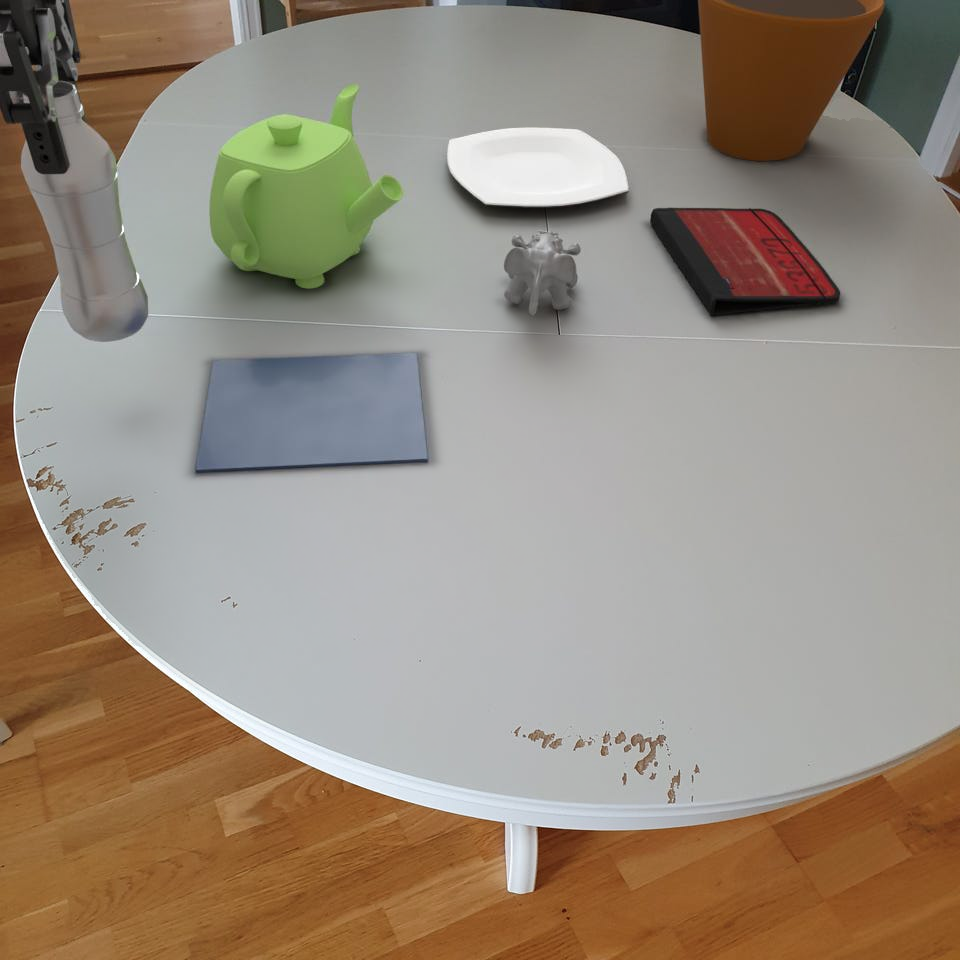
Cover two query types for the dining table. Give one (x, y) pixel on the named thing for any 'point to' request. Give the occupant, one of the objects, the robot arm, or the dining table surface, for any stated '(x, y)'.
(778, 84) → the flower pot
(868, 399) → the dining table surface
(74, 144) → the silver metal bottle
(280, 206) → the teapot
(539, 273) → the gray elephant figurine
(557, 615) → the dining table surface
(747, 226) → the notebook
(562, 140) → the plate
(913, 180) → the dining table surface
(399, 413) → the flat rectangular board
